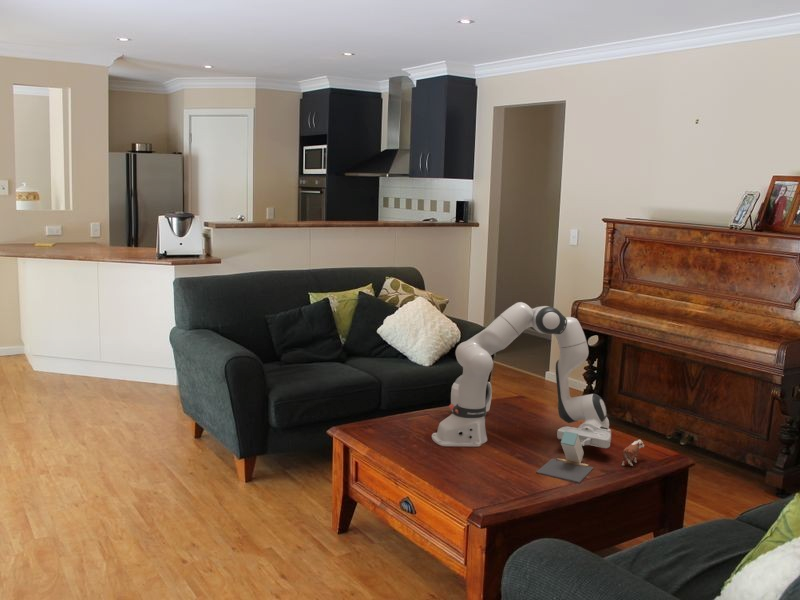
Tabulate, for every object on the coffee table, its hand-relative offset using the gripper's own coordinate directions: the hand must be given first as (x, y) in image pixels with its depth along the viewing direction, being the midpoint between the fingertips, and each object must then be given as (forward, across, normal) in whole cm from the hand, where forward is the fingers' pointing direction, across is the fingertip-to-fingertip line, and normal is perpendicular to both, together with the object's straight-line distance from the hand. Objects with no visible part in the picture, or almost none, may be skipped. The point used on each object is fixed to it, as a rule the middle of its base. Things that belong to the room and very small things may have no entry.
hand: (577, 442), depth 292 cm
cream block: (+1, 0, +6) cm, 6 cm away
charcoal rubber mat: (+12, 0, +7) cm, 14 cm away
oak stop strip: (+4, 0, +7) cm, 8 cm away
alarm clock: (-26, -57, +7) cm, 63 cm away
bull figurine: (-11, +18, +8) cm, 22 cm away
